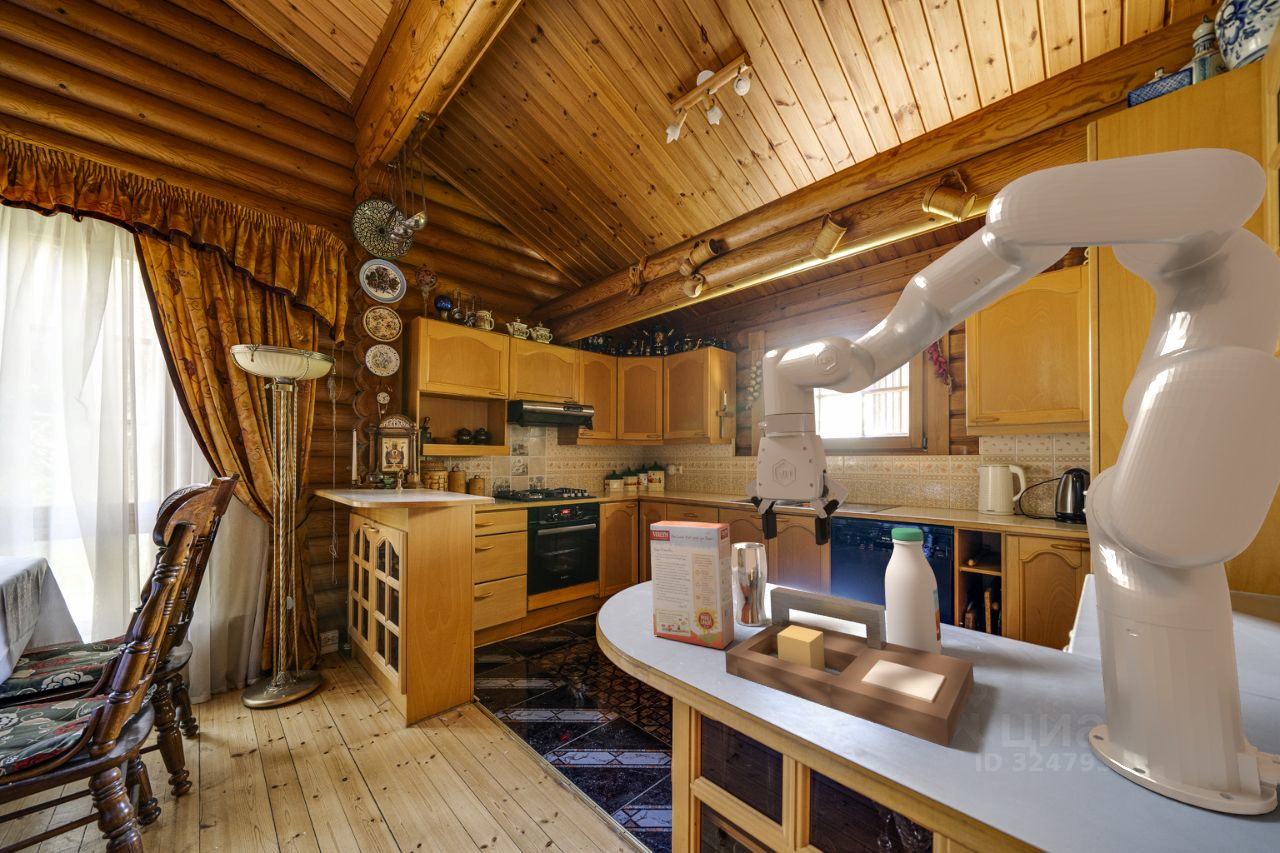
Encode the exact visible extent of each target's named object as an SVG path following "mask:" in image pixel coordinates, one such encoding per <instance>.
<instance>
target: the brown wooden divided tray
mask: <svg viewBox="0 0 1280 853" xmlns="http://www.w3.org/2000/svg"><path fill="white" fill-rule="evenodd" d="M791 625H794V626H799V627H803V628H807V629H811V630H816V631H820V632H823V644H824V664H825V669H830V670H832V671H836V672H840V673H839V675H837V674H833V673H830V672H827V671H825V672H823V671H820V670H816V669H813V668H809V667H806V666H802V665H799V664H795V663H792V662H789V661H785V660H782V659H778V657H774V656H772V655H770V654H775V655H778V638H777V634H779V633H780V632H782V631H783V630H785V629H786V628H788V627H789V626H791ZM973 663H974V662H973V661H971V660H966V659H962V658H958V657H954V656H948V655H944V654H941V655H940V654H936V653H932V652H927V651H923V650H918V649H914V648H910V647H905V646H901V645H896V644H892V643H888V642H887V644H886V645H885V646H884V647H883V648H882V649H881V650H880V649H876V648H872V647H867V637H865V636H862V635H861V636H860V635H855V634H851V633H846V632H842V631H838V630H833V629H830V628H825V627H821V626H816V625H812V624H806V623H802V622H798V621H794V620H793V621H792V620H790V622H788V623H787V624H785V625H784V626H779V625H775V624H772V623H771V624H770V625H768V626H767V627H765V628H764V629H762V630H760V631H758V632H757V633H755V634H753V635H751V636H750V637H749V638H747V639H745V640H743V641H742V642H740V643H738V644H737V645H735V646H734V647H732V648H730V649H729V650H727V651H725V672H727V674H729V673H730V675H733V676H735V675H736V677H738V678H741V679H745V680H747V681H749V682H750V681H751V682H754V683H757V684H759V685H762V686H765V687H768V688H771V689H774V690H778V691H780V692H783V693H786V694H788V695H792V696H795V697H798V698H801V699H804V700H806V701H810V702H813V703H816V704H819V705H822V706H825V707H827V708H830V709H834V710H837V711H839V712H842V713H845V714H848V715H851V716H854V717H857V718H860V719H864V720H867V721H870V722H872V723H875V724H878V725H881V726H883V727H887V728H890V729H893V730H895V731H899V732H902V733H904V734H907V735H911V736H913V737H917V738H919V739H923V740H926V741H929V742H931V743H935V744H937V745H941V746H943V747H946V748H949V746H950V744H951V741H952V740H953V736H954V733H955V731H956V729H957V727H958V725H959V722H960V719H961V717H962V715H963V712H964V709H965V707H966V704H967V702H968V700H969V697H970V695H971V691H972V690H973V687H974V685H975V681H974V680H975V679H974V665H973Z"/></svg>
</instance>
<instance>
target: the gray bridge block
mask: <svg viewBox="0 0 1280 853" xmlns="http://www.w3.org/2000/svg"><path fill="white" fill-rule="evenodd" d="M769 592H770V613H771V614H770V615H771V624H775V625H779V626H784V625H785V624H787V623H788V622H790V621H791V619H790V610H794V611H799V612H802V613H809V614H813V615H818V616H823V617H827V618H832V619H838V620H840V621H841V620H842V621H845V622H850V623H856V624H861V625H865V631H866V632H865V635H866V638H867V647H872V648H876V649H880V650H881V649H882V648H883V647H884V646H885V645H886V644H887V643H888V639H887V622H886V605H881V604H876V603H871V602H864V601H859V600H853V599H848V598H843V597H838V596H831V595H826V594H820V593H816V592H815V593H814V592H810V591H803V590H798V589H791V588H786V587H781V586H776V587H775V588H773V589H771V590H769Z"/></svg>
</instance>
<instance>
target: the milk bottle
mask: <svg viewBox="0 0 1280 853" xmlns="http://www.w3.org/2000/svg"><path fill="white" fill-rule="evenodd" d="M891 539H892V543H893V551H892V555H891V558H890V559H889V562H888V564H887V566H886V570H885V574H884V575H885V576H884V592H885V593H884V598H885V618H886V635H887V643H892V644H896V645H901V646H905V647H910V648H914V649H918V650H923V651H927V652H932V653H936V654H940V655H942V636H941V635H942V634H941V633H942V632H941V621H940V620H941V618H940V604H939V593H938V584H937V579H936V576H935V574H934V571H933V570H934V569H932V567H931V565H930V563H929V561H928V559H927V558H926V555H925V552H924V549H923V544H924V532H923V530H922V529H918V528H914V527H913V528H912V527H895V528H892V529H891Z"/></svg>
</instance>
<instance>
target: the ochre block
mask: <svg viewBox="0 0 1280 853" xmlns="http://www.w3.org/2000/svg"><path fill="white" fill-rule="evenodd" d="M777 638H778V654H777V656H778V657H777V658H778V659H782V660H785V661H789V662H792V663H795V664H799V665H802V666H806V667H809V668H813V669H816V670H820V671H823V672H826V668H825V664H824V644H823V632H820V631H816V630H811V629H807V628H803V627H799V626H794V625H791V626H789V627H788V628H786V629H785V630H783V631H782V632H780V633H779V634H777Z"/></svg>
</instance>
